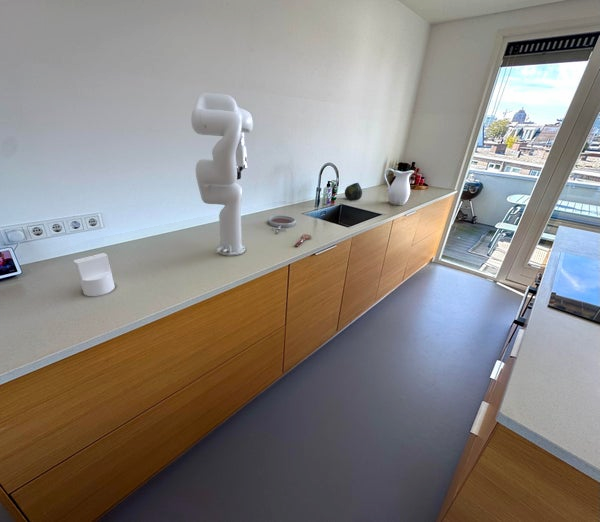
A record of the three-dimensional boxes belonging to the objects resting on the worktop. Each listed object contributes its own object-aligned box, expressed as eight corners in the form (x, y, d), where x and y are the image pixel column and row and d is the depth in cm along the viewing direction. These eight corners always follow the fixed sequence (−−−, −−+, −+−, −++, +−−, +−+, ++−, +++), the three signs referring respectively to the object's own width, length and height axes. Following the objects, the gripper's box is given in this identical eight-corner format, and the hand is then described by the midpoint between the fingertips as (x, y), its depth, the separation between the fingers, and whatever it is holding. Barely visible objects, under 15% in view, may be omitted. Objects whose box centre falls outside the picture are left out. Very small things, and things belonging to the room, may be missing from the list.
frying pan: (261, 228, 158) (270, 213, 183) (261, 233, 160) (270, 218, 184) (292, 231, 157) (297, 216, 182) (291, 236, 159) (296, 220, 184)
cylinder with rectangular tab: (108, 280, 105) (101, 250, 100) (119, 289, 100) (111, 258, 95) (79, 289, 98) (69, 257, 93) (89, 299, 94) (79, 266, 88)
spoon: (300, 248, 143) (300, 245, 142) (291, 246, 145) (291, 243, 144) (312, 237, 158) (312, 234, 158) (303, 235, 160) (304, 232, 159)
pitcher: (409, 203, 247) (417, 170, 235) (404, 207, 234) (412, 172, 222) (382, 198, 258) (388, 166, 246) (376, 202, 245) (382, 168, 232)
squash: (338, 191, 245) (351, 180, 235) (347, 190, 256) (359, 179, 246) (347, 205, 243) (360, 194, 233) (356, 203, 254) (368, 192, 244)
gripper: (220, 141, 145) (221, 178, 153) (245, 143, 140) (246, 182, 148) (228, 140, 151) (230, 176, 159) (253, 143, 147) (253, 179, 155)
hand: (237, 179), depth 154 cm, fingers closed
